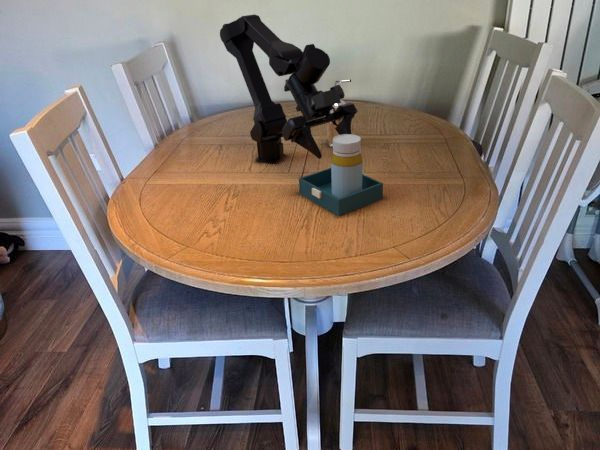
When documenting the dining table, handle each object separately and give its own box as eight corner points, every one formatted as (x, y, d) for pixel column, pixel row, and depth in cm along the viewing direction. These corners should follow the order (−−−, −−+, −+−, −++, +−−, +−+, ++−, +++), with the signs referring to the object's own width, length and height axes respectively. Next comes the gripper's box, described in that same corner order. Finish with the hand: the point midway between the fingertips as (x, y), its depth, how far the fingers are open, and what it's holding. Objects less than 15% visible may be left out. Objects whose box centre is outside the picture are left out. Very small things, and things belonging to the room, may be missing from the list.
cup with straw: (342, 138, 150) (341, 72, 140) (356, 147, 143) (357, 78, 133) (317, 143, 147) (315, 76, 137) (330, 152, 140) (329, 82, 130)
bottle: (360, 207, 110) (361, 144, 103) (329, 205, 111) (328, 144, 104) (363, 193, 116) (364, 133, 108) (334, 192, 117) (333, 133, 110)
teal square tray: (297, 194, 118) (296, 179, 116) (343, 177, 124) (343, 163, 123) (336, 217, 107) (336, 201, 105) (384, 198, 113) (385, 182, 111)
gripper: (285, 82, 102) (318, 145, 100) (352, 67, 111) (384, 125, 109) (268, 111, 112) (298, 169, 109) (332, 95, 121) (360, 149, 118)
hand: (336, 152), depth 111 cm, fingers open, 9 cm apart
